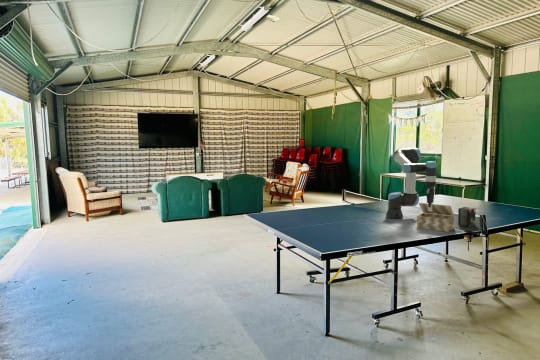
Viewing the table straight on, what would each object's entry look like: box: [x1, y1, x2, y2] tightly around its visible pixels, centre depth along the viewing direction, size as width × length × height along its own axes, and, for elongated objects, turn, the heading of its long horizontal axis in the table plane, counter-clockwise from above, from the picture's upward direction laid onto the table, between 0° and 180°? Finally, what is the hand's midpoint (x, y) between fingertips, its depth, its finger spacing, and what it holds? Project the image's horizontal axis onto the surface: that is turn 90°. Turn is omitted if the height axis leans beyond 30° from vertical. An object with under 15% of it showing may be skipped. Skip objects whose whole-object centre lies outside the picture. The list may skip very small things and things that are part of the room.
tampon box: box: [457, 206, 477, 228], centre depth 291 cm, size 11×9×15 cm
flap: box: [418, 202, 455, 217], centre depth 286 cm, size 24×14×1 cm
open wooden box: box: [416, 212, 455, 233], centre depth 286 cm, size 24×14×10 cm, turn 47°
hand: (430, 211), depth 276 cm, fingers closed
